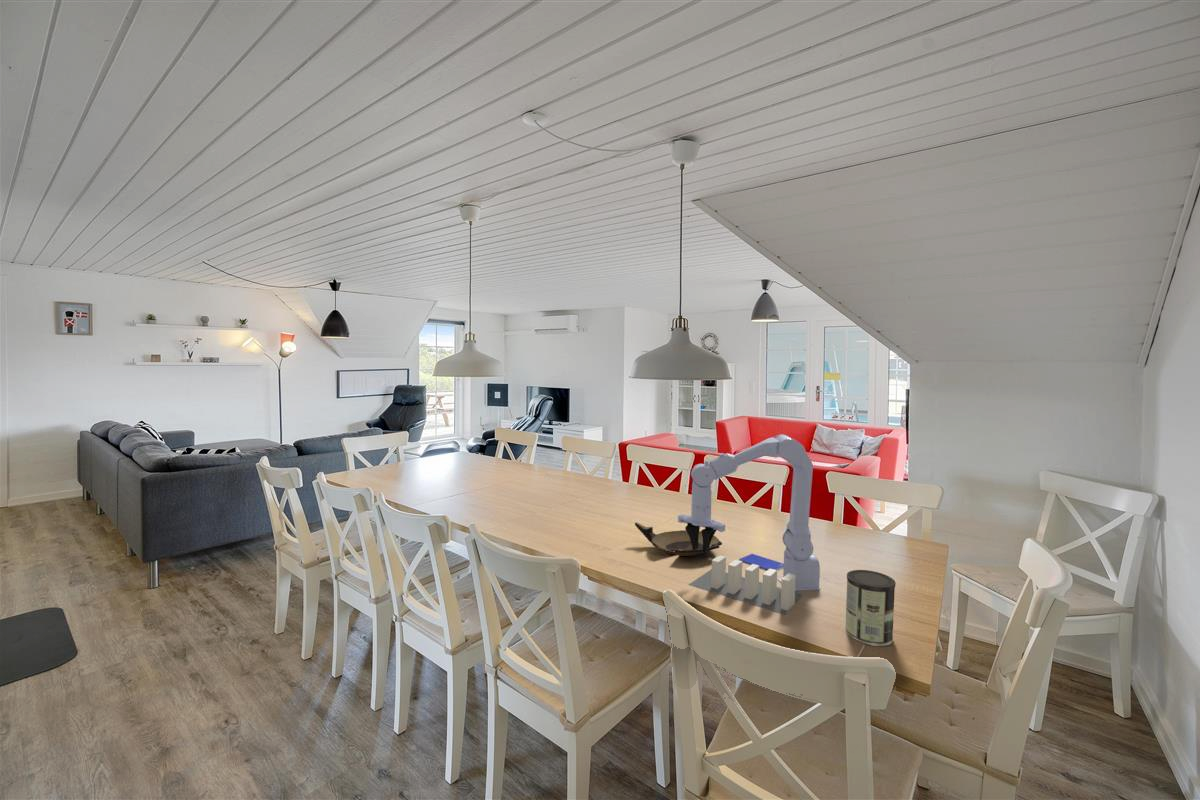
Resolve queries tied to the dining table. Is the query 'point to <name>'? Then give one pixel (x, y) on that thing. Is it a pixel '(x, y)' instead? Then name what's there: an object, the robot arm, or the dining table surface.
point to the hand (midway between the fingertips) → (700, 550)
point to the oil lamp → (676, 541)
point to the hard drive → (762, 562)
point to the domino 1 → (718, 572)
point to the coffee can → (870, 607)
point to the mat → (742, 593)
